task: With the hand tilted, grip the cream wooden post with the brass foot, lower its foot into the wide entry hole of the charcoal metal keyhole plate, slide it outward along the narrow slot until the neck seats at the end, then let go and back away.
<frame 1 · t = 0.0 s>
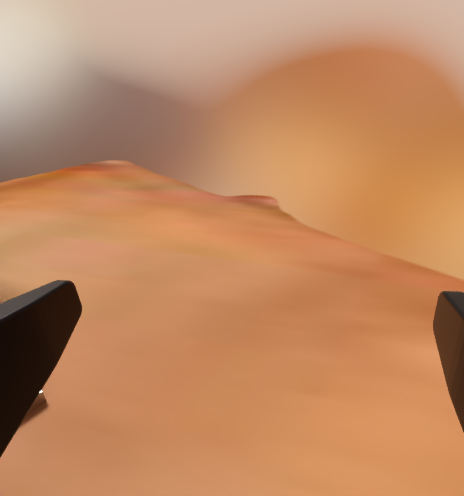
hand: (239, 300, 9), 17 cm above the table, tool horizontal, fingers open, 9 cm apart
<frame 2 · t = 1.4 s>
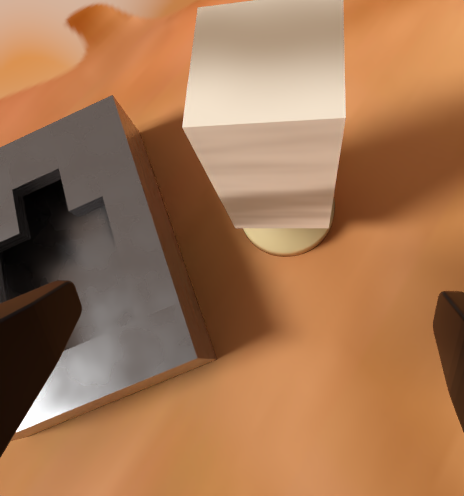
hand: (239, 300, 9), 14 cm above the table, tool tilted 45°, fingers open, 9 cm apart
keyhole post: (286, 212, 24), on the table
keyhole plate: (89, 268, 26), on the table
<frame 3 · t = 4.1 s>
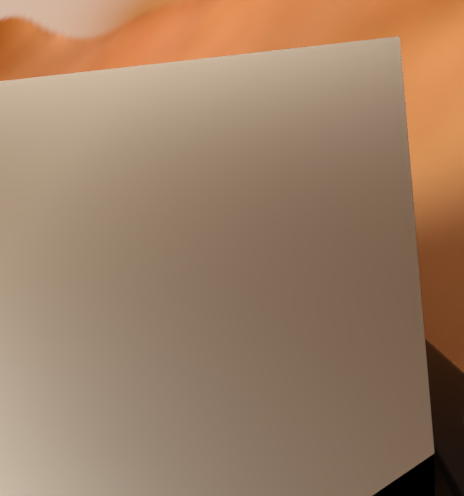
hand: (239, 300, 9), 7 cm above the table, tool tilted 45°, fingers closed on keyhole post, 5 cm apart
keyhole post: (265, 362, 15), on the table, touching gripper
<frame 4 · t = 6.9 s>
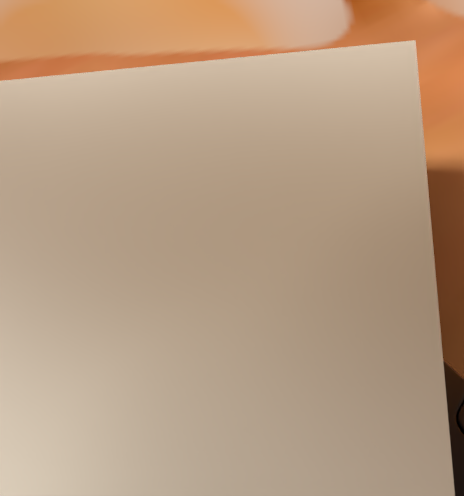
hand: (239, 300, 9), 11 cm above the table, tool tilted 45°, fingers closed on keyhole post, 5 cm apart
keyhole post: (266, 361, 15), point 5 cm above the table, touching gripper
when the fingers open (8 cm above the table, at t = 9.9 s): keyhole post stays where it is, resting on keyhole plate.
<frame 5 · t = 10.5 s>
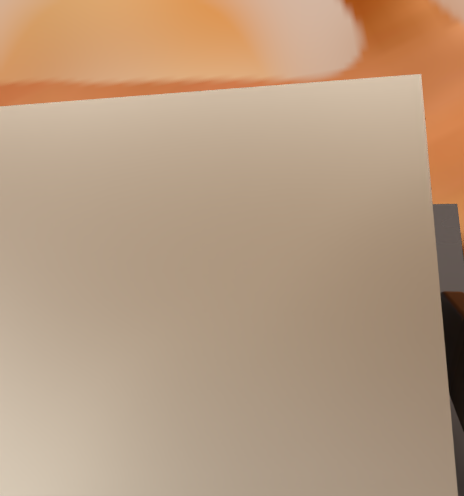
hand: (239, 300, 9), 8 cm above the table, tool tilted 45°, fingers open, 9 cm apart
keyhole post: (266, 364, 15), point 1 cm above the table, touching keyhole plate
keyhole plate: (265, 452, 15), on the table
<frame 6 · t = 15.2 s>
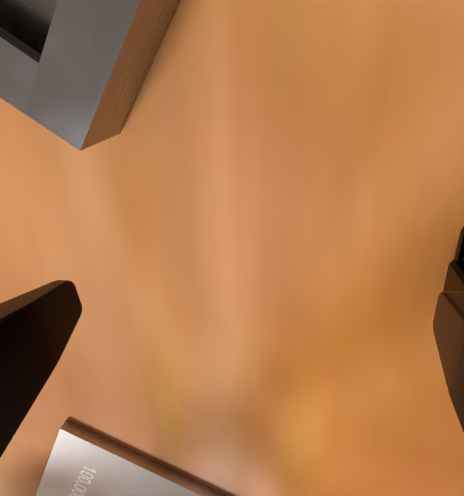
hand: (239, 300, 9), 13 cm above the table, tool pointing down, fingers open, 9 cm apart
play button award: (136, 489, 41), on the table
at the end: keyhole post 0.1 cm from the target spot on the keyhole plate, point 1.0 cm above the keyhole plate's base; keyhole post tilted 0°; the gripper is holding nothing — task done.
